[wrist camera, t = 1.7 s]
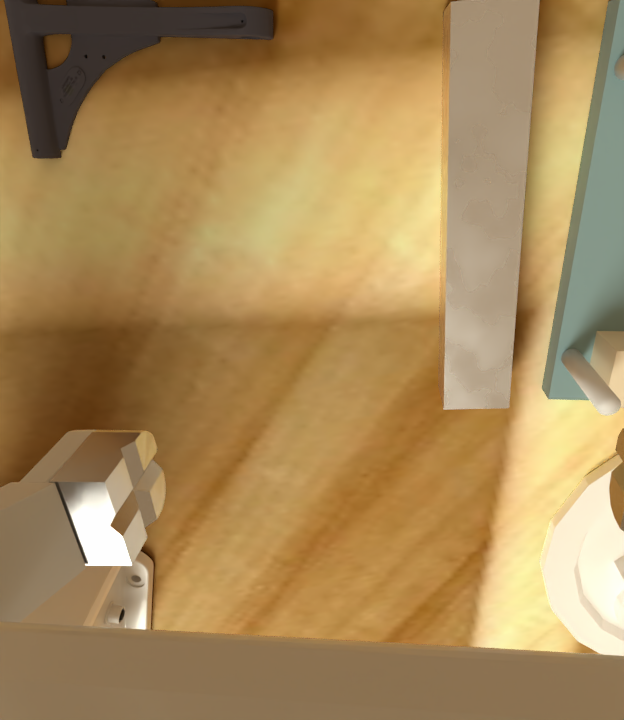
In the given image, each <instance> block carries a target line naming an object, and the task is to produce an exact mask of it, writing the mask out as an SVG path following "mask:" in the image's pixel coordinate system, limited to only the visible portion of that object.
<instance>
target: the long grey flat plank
mask: <svg viewBox="0 0 624 720" xmlns="http://www.w3.org/2000/svg"><path fill="white" fill-rule="evenodd" d="M539 3H540V0H461V1H452V2H450V4H449V5H448V6H447V8H446V9H445V10H444V12H443V63H442V144H441V224H440V305H439V385H438V386H439V391H440V395H441V400H442V404H443V408H444V409H489V408H509V400H510V387H511V374H512V361H513V348H514V334H515V321H516V308H517V295H518V281H519V268H520V255H521V242H522V228H523V215H524V202H525V189H526V175H527V162H528V149H529V136H530V122H531V109H532V96H533V83H534V69H535V56H536V43H537V30H538V16H539Z"/></svg>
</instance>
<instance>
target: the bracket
mask: <svg viewBox="0 0 624 720" xmlns="http://www.w3.org/2000/svg"><path fill="white" fill-rule="evenodd" d="M4 2H5V7H6V13H7V18H8V24H9V29H10V35H11V40H12V46H13V51H14V57H15V62H16V68H17V73H18V79H19V84H20V90H21V95H22V101H23V107H24V112H25V118H26V123H27V129H28V134H29V140H30V145H31V151H32V156H33V158H61V152H60V150H65V149H66V147H67V144H68V140H69V136H70V132H71V129H72V125H73V122H74V120H75V117H76V115H77V112H78V110H79V108H80V106H81V104H82V102H83V100H84V99H85V97H86V95H87V94H88V92H89V91H90V89H91V88H92V86H93V85H94V84H95V82H96V81H97V80H98V79H99V78H100V76H101V75H102V74H103V73H104V72H105V70H107V69H108V68H109V67H111V66H112V65H114V64H115V63H117V62H118V61H120V60H121V59H122V58H124V57H126V56H128V55H129V54H131V53H133V52H136V51H138V50H141V49H143V48H146V47H149V46H152V45H155V44H157V43H160V37H192V38H228V39H265V40H271V39H273V11H272V10H270V9H266V8H260V7H252V6H222V7H158V5H157V3H156V2H154V1H152V0H66V2H67V6H64V5H40V4H38V2H37V0H4ZM52 34H71V38H72V45H71V50H70V53H69V55H68V57H67V59H66V60H65V62H64V63H63V64H62V65H60V66H58V67H56V68H54V69H50V70H48V69H47V64H46V58H45V51H44V43H43V37H44V36H45V35H52ZM87 56H88V58H87Z"/></svg>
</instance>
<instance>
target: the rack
mask: <svg viewBox="0 0 624 720" xmlns="http://www.w3.org/2000/svg"><path fill="white" fill-rule="evenodd" d="M542 389H543V391H544V392H545V394H546V396H547V397H548V399H567V400H590V401H591V403H592V404H593V405H594V407H595V408H596V409H597V411H598V412H599V413H600V414H602V415H612V414H614V413H616V412H617V411H618V410H619V409H620V408H624V0H611V1H609V2H608V7H607V13H606V19H605V24H604V30H603V36H602V42H601V48H600V53H599V59H598V65H597V71H596V77H595V83H594V88H593V94H592V100H591V106H590V112H589V117H588V123H587V129H586V135H585V141H584V147H583V152H582V158H581V164H580V170H579V176H578V181H577V187H576V193H575V199H574V205H573V210H572V216H571V222H570V228H569V234H568V240H567V245H566V251H565V257H564V263H563V269H562V274H561V280H560V286H559V292H558V298H557V304H556V309H555V315H554V321H553V327H552V333H551V338H550V344H549V350H548V356H547V362H546V367H545V373H544V379H543V385H542Z"/></svg>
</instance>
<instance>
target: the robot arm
mask: <svg viewBox="0 0 624 720" xmlns="http://www.w3.org/2000/svg"><path fill="white" fill-rule="evenodd" d="M157 450H158V449H157V446H156V443H155V439H154V436H153V435H152V434H151V433H150V432H149V431H147V430H73V431H69V432H67V433H66V434H65V435H64V436H63V437H62V438H61V439H60V440H59V441H58V442H57V443H56V444H55V445H54V446H53V447H52V449H51V450H50V451H49V452H48V453H47V454H46V455H45V456H44V457H43V458H42V459H41V460H40V461H39V462H38V463H37V464H36V465H35V466H34V467H33V468H32V469H31V470H30V471H29V473H28V474H27V475H26V476H25V477H24V478H23V479H22V480H21V481H20V482H11V483H9V484H7V485H4V486H2V487H0V720H624V656H621V655H603V654H586V653H568V652H550V651H533V650H515V649H498V648H480V647H462V646H445V645H427V644H408V643H389V642H371V641H352V640H333V639H315V638H296V637H278V636H259V635H240V634H222V633H203V632H185V631H167V630H151V612H152V591H153V571H154V565H153V561H152V560H151V558H150V557H149V556H147V555H146V554H144V553H143V552H141V551H140V550H141V548H142V546H143V544H144V543H145V541H146V539H147V534H146V530H145V527H147V526H148V525H150V524H151V523H153V522H154V521H155V520H157V519H158V517H159V515H160V513H161V511H162V509H163V506H164V501H165V496H166V480H165V476H164V472H163V469H162V468H161V467H160V466H159V465H158V464H157V463H156V462H155V461H154V460H153V458H154V456H155V454H156V452H157ZM616 451H617V453H618V454H619V456H620V458H621V459H622V461H623V462H622V463H621V464H620V465H619V466H617V467H616V468H615V469H614V470H613V471H612V472H611V479H610V486H609V493H610V505H611V508H612V512H613V515H614V518H615V520H616V522H617V524H618V526H619V528H620V529H621V530H622V531H624V428H623V429H622V431H621V432H620V434H619V436H618V440H617V445H616Z"/></svg>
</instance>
